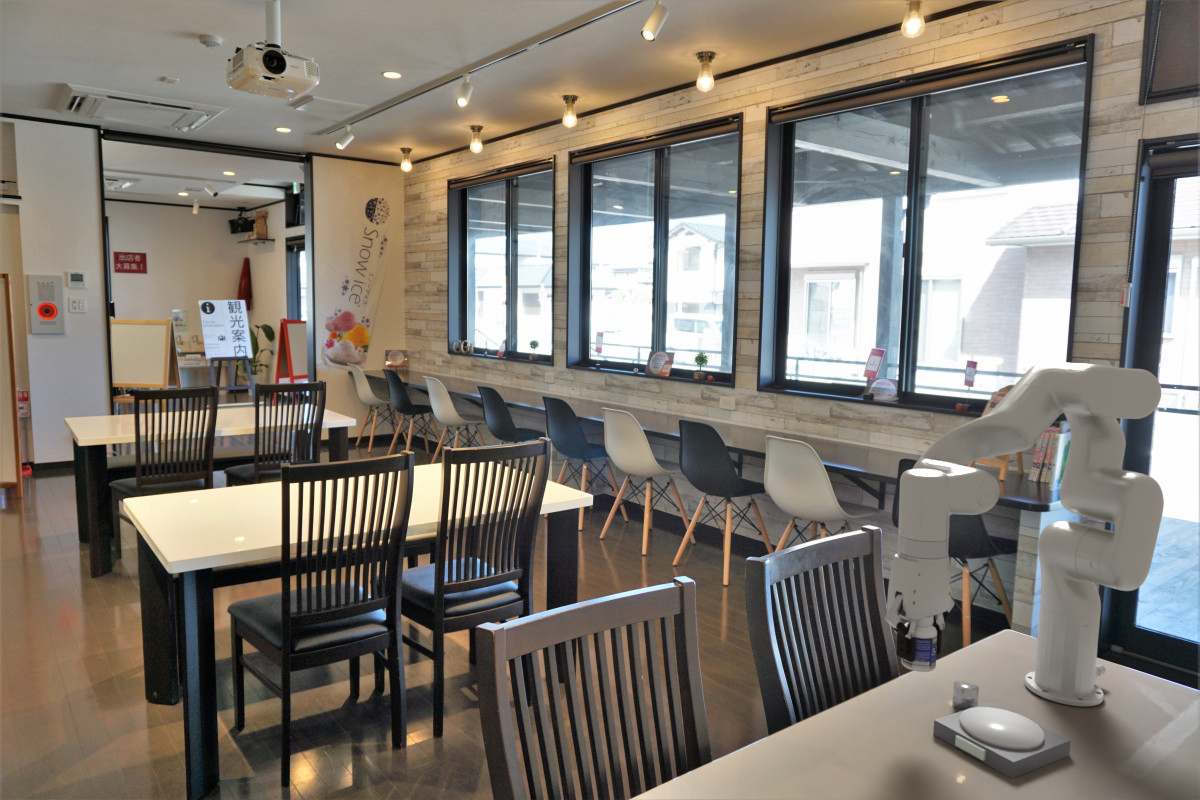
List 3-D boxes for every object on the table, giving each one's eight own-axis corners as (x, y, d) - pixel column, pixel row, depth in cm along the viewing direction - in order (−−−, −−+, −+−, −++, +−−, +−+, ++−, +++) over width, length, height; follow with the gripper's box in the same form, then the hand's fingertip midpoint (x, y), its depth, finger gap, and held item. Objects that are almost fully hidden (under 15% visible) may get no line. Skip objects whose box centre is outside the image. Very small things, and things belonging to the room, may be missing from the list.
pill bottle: (938, 674, 127) (941, 620, 126) (904, 671, 128) (906, 618, 127) (932, 659, 132) (934, 608, 131) (898, 657, 133) (900, 606, 132)
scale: (988, 715, 137) (990, 697, 137) (1069, 755, 125) (1070, 735, 124) (931, 735, 130) (932, 715, 130) (1010, 779, 118) (1011, 757, 117)
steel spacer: (962, 700, 143) (963, 678, 142) (982, 710, 139) (983, 688, 139) (947, 704, 141) (948, 683, 140) (967, 714, 137) (968, 692, 137)
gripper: (939, 533, 135) (935, 636, 137) (866, 548, 127) (862, 657, 129) (978, 544, 128) (973, 652, 130) (904, 561, 120) (900, 675, 122)
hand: (918, 653), depth 130 cm, fingers closed on pill bottle, 5 cm apart
